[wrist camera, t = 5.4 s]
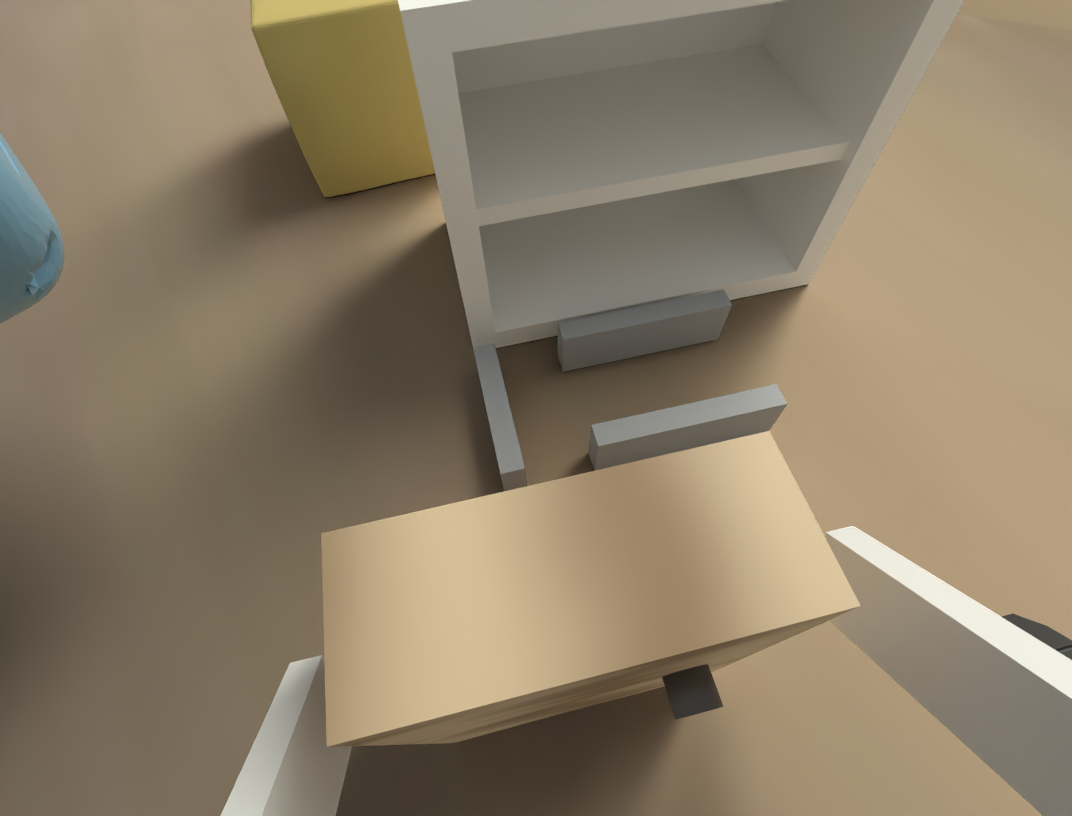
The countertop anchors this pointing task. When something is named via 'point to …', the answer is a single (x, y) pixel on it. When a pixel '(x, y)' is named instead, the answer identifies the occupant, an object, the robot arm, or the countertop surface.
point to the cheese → (346, 89)
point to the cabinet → (650, 174)
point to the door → (570, 595)
